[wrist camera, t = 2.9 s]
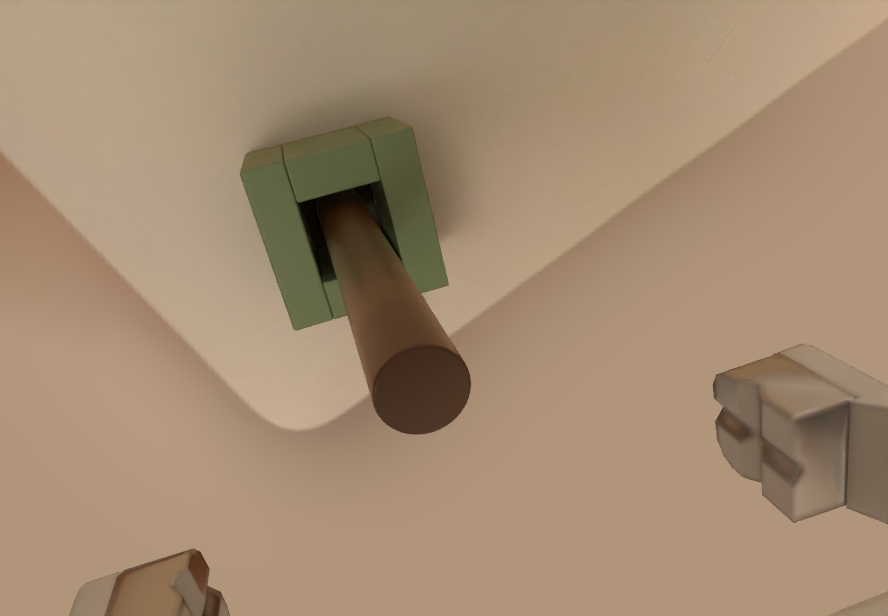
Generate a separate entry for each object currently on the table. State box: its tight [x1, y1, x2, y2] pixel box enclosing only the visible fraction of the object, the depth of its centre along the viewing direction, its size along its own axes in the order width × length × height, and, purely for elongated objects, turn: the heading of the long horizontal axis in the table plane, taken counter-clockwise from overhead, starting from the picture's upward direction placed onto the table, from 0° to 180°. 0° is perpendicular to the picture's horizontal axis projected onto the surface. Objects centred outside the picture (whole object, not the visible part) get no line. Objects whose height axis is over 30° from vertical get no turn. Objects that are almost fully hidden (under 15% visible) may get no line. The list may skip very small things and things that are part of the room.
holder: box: [240, 117, 448, 330], centre depth 27 cm, size 6×6×5 cm
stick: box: [317, 188, 471, 434], centre depth 21 cm, size 2×2×18 cm
